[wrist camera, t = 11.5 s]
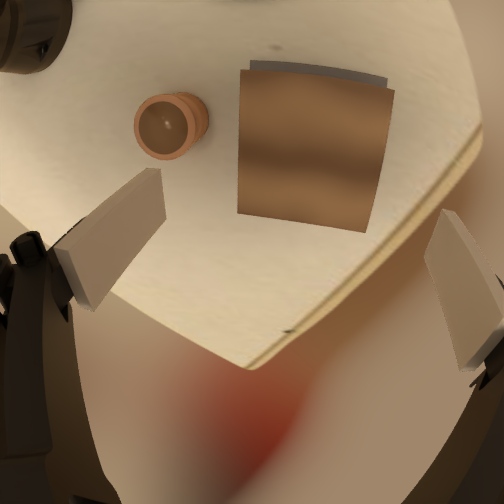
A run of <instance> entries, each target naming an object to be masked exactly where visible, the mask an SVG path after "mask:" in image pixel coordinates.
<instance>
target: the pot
mask: <svg viewBox="0 0 504 504" xmlns="http://www.w3.org/2000/svg"><path fill="white" fill-rule="evenodd" d="M208 120H209V119H208V112H207V109H206V107H205V105H204V104H203V102H202V101H201V100H200V99H199V98H197V97H196V96H194V95H192V94H189V93H176V94H172V95H170V94H161V95H157V96H153V97H151V98H149V99H148V100H146V101H145V102H144V103H143V104H142V105H141V106H140V108H139V109H138V111H137V113H136V116H135V120H134V132H135V136H136V139H137V141H138V143H139V145H140V146H141V148H142V149H143V150H144V151H145V152H146V153H147V154H149V155H150V156H152V157H154V158H156V159H160V160H172V159H176V158H178V157H180V156H181V155H183V154H184V153H186V152H187V151H188V150H189V149H190V147H191V146H192V145H193V144H194V143H196V142H197V141H199V140H200V139H201V138H202V137H203V135H204V134H205V132H206V130H207V127H208Z"/></svg>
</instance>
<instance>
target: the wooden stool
mask: <svg viewBox="0 0 504 504" xmlns="http://www.w3.org/2000/svg"><path fill="white" fill-rule="evenodd" d="M394 92H395V90H392V89H388V88H384V87H380V86H375V85H371V84H366V83H361V82H356V81H351V80H345V79H339V78H333V77H326V76H319V75H311V74H303V73H293V72H281V71H266V70H241V75H240V109H239V151H238V210H237V213H238V214H246V215H253V216H260V217H267V218H274V219H281V220H288V221H295V222H301V223H308V224H314V225H320V226H327V227H333V228H339V229H345V230H351V231H357V232H362V233H366V229H367V226H368V222H369V218H370V214H371V210H372V206H373V202H374V198H375V194H376V190H377V186H378V181H379V177H380V172H381V168H382V163H383V158H384V153H385V148H386V142H387V137H388V131H389V125H390V119H391V113H392V106H393V99H394Z"/></svg>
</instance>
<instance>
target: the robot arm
mask: <svg viewBox="0 0 504 504" xmlns="http://www.w3.org/2000/svg"><path fill="white" fill-rule="evenodd" d="M71 15H72V5H71V0H0V72H8V73H16V74H31V73H35V72H39V71H41V70H43V69H45V68H46V67H48V66H49V65H50V64H51V63H52V62H53V60H54V59H55V58H56V57H57V55H58V54H59V52H60V50H61V48H62V46H63V44H64V42H65V40H66V37H67V34H68V31H69V27H70V22H71ZM165 220H166V212H165V204H164V196H163V187H162V178H161V169H155V168H146V169H145V170H144V171H142V172H141V173H140V174H138V175H137V176H136V177H134V178H133V179H132V180H130V181H129V182H128V183H127V184H125V185H124V186H123V187H121V188H120V189H119V190H118V191H116V192H115V193H114V194H113V195H111V196H110V197H109V198H108V199H107V200H105V201H104V202H103V203H102V204H101V205H99V206H98V207H97V208H96V209H95V210H94V211H92V212H91V213H90V214H89V215H88V216H86V217H84V218H83V219H81V220H80V221H79V222H78V223H76V224H75V225H74V226H73V228H71V229H70V230H69V231H68V232H67V234H66V233H65V234H64V235H63V236H62V237H61V238H60V239H59V240H58V241H57V242H56V243H55V244H54V245H53V246H52V247H51V248H50V249H49V250H48V251H46V249H45V246H44V244H43V241H42V238H41V236H40V233H39V232H37V231H30V232H26V233H24V234H22V235H20V236H19V237H17V238H16V239H15V240H14V241H13V242H12V243H11V245H10V250H11V252H12V254H13V256H14V258H15V261H16V263H17V264H11V262H10V259H9V257H8V255H6V254H0V303H1V304H2V306H3V308H4V309H5V311H4V314H3V315H2V314H1V312H0V504H122V503H121V501H120V498H119V497H118V494H117V492H116V491H115V489H114V487H113V486H112V485H111V483H110V482H109V481H108V480H107V478H106V476H105V475H104V473H103V470H102V467H101V464H100V461H99V458H98V455H97V451H96V448H95V444H94V441H93V437H92V433H91V429H90V425H89V421H88V417H87V413H86V408H85V403H84V399H83V393H82V389H81V383H80V376H79V370H78V363H77V356H76V348H75V339H74V328H73V315H72V307H71V304H70V302H69V301H70V300H71V298H72V297H73V296H74V297H75V299H76V301H77V303H78V305H79V307H81V308H84V309H87V310H90V311H93V312H94V311H95V310H96V308H97V307H98V305H99V304H100V303H101V301H102V300H103V299H104V297H105V296H106V295H107V293H108V292H109V290H110V289H111V288H112V286H113V285H114V284H115V282H116V281H117V280H118V278H119V277H120V276H121V275H122V273H123V272H124V271H125V269H126V268H127V267H128V265H129V264H130V263H131V262H132V260H133V259H134V258H135V257H136V255H137V254H138V253H139V252H140V250H141V249H142V248H143V247H144V245H145V244H146V243H147V242H148V240H149V239H150V238H151V237H152V236H153V234H154V233H155V232H156V231H157V230H158V228H159V227H160V226H161V225H162V224H163V222H164V221H165ZM424 260H425V262H426V265H427V267H428V270H429V273H430V275H431V278H432V281H433V283H434V286H435V289H436V291H437V294H438V297H439V300H440V303H441V306H442V309H443V312H444V316H445V319H446V322H447V325H448V329H449V332H450V336H451V339H452V343H453V347H454V351H455V355H456V359H457V363H458V367H459V371H475V370H476V369H477V368H478V367H479V366H480V365H481V363H482V362H483V361H484V363H485V366H486V369H485V370H484V371H483V372H482V373H481V374H480V375H479V376H478V377H477V378H476V379H475V380H474V381H473V382H472V383H471V384H470V386H469V387H472V386H473V385H474V384H476V386H475V388H474V391H473V393H472V395H471V397H470V399H469V401H468V403H467V405H466V407H465V409H464V411H463V413H462V415H461V417H460V418H459V420H458V422H457V424H456V426H455V427H454V429H453V431H452V433H451V435H450V436H449V438H448V440H447V441H446V443H445V444H444V446H443V448H442V449H441V451H440V452H439V454H438V455H437V457H436V458H435V460H434V462H433V463H432V464H431V466H430V467H429V469H428V470H427V471H426V473H425V474H424V476H423V477H422V478H421V480H420V481H419V482H418V484H417V485H416V486H415V487H414V489H413V490H412V491H411V492H410V494H409V495H408V496H407V498H406V499H405V500H404V501H403V502H402V503H401V504H504V285H503V283H502V281H501V280H500V279H499V278H498V277H497V275H496V274H495V273H494V271H493V270H492V268H491V266H490V265H489V263H488V261H487V259H486V258H485V256H484V255H483V253H482V251H481V250H480V248H479V247H478V245H477V243H476V242H475V240H474V239H473V237H472V236H471V234H470V233H469V231H468V230H467V228H466V227H465V225H464V224H463V223H462V221H461V220H460V218H459V217H458V215H457V214H456V213H455V212H454V211H450V210H446V209H442V210H441V213H440V215H439V218H438V221H437V224H436V226H435V229H434V232H433V234H432V237H431V239H430V242H429V244H428V247H427V249H426V252H425V254H424Z"/></svg>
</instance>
